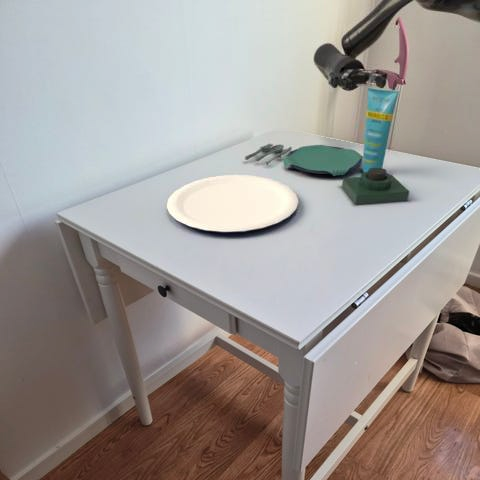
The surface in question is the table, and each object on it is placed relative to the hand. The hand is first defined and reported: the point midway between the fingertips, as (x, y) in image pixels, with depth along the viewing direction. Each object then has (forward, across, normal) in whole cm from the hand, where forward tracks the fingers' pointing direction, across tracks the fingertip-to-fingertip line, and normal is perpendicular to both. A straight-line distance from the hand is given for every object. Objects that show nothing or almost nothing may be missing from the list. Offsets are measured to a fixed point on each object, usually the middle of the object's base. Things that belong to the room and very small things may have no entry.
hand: (366, 84), depth 105 cm
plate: (+25, -37, +18) cm, 48 cm away
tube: (+11, 0, +18) cm, 21 cm away
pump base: (+24, -4, +18) cm, 30 cm away
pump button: (+24, -4, +14) cm, 28 cm away
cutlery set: (+1, -15, +18) cm, 23 cm away
